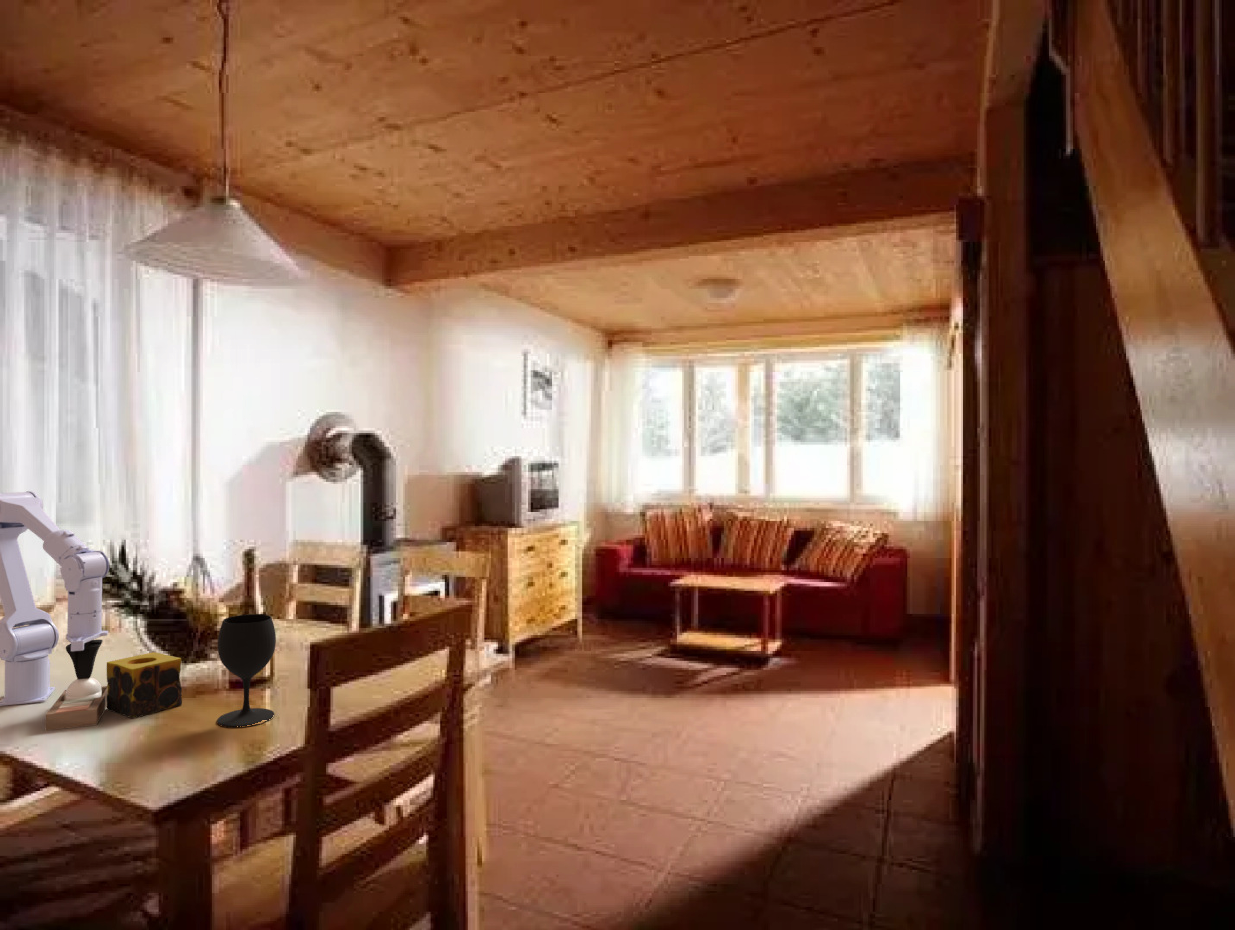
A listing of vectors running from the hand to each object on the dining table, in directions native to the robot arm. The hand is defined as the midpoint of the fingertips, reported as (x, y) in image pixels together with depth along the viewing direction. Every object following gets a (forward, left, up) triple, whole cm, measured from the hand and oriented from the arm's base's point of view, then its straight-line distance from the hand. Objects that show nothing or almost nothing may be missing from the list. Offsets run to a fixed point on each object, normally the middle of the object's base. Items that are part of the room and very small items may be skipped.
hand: (84, 677), depth 154 cm
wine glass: (+18, +30, -6) cm, 36 cm away
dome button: (0, 0, -6) cm, 6 cm away
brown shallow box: (+3, 0, -6) cm, 7 cm away
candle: (+3, +11, -7) cm, 13 cm away
